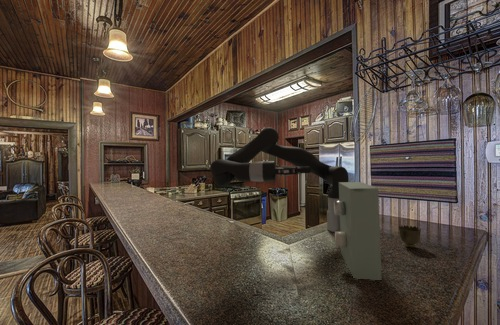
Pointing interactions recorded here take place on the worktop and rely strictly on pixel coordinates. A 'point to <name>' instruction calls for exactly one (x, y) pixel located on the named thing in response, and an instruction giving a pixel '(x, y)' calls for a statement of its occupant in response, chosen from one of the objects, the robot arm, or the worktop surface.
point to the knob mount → (361, 229)
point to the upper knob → (339, 207)
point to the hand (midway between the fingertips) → (310, 169)
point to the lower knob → (340, 239)
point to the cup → (409, 235)
